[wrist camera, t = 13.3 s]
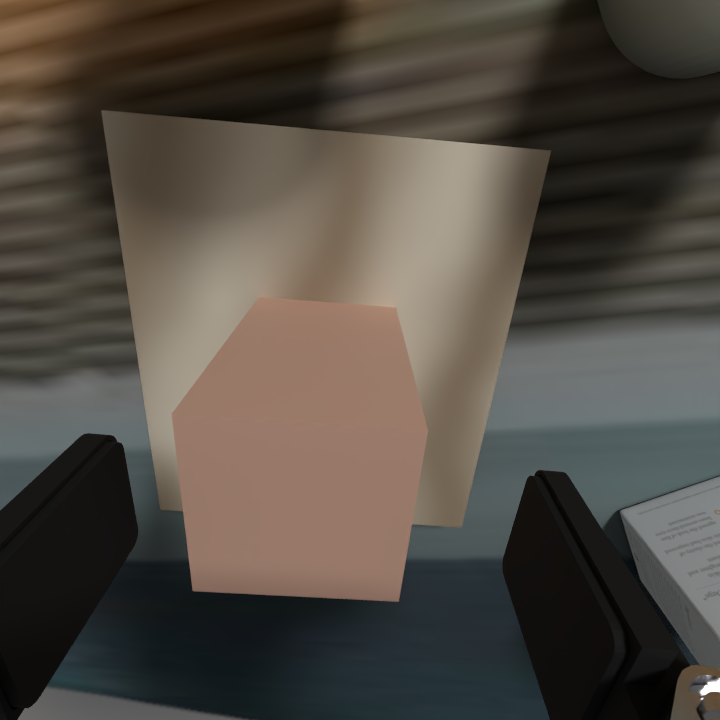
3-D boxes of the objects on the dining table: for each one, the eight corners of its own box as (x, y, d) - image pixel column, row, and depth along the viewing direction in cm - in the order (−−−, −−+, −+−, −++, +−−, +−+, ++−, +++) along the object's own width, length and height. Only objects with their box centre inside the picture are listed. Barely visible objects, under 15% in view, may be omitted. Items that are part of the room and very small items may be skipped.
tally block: (396, 307, 16) (427, 430, 8) (381, 422, 18) (398, 601, 11) (258, 297, 16) (171, 413, 8) (261, 414, 18) (192, 591, 10)
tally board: (533, 151, 15) (551, 150, 14) (455, 504, 22) (461, 527, 20) (125, 114, 14) (100, 109, 13) (172, 487, 21) (160, 509, 20)
